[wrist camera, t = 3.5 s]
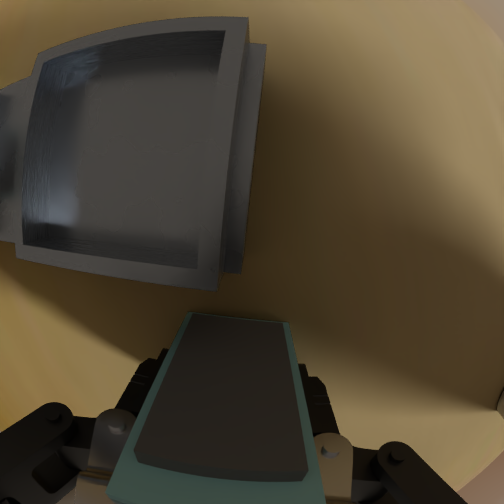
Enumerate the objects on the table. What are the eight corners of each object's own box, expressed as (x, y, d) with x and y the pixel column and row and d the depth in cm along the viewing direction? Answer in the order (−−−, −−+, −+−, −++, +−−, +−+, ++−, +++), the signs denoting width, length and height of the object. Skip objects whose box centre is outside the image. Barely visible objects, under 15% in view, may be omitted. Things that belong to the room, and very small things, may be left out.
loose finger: (290, 311, 10) (338, 510, 3) (273, 394, 12) (284, 552, 4) (188, 300, 10) (96, 481, 3) (188, 384, 11) (145, 536, 4)
